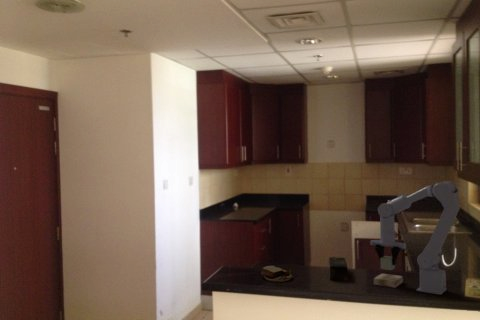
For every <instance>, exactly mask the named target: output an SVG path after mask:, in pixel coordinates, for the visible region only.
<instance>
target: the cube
mask: <svg viewBox="0 0 480 320" xmlns="http://www.w3.org/2000/svg"><path fill="white" fill-rule="evenodd" d="M379 262H381V263H380V270H386V271H393V270H394V269H395V268H396V264H395V265H392V256H390V255H389V256H388V255H384V256H383V257H381V258H380V259H379Z"/></svg>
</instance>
